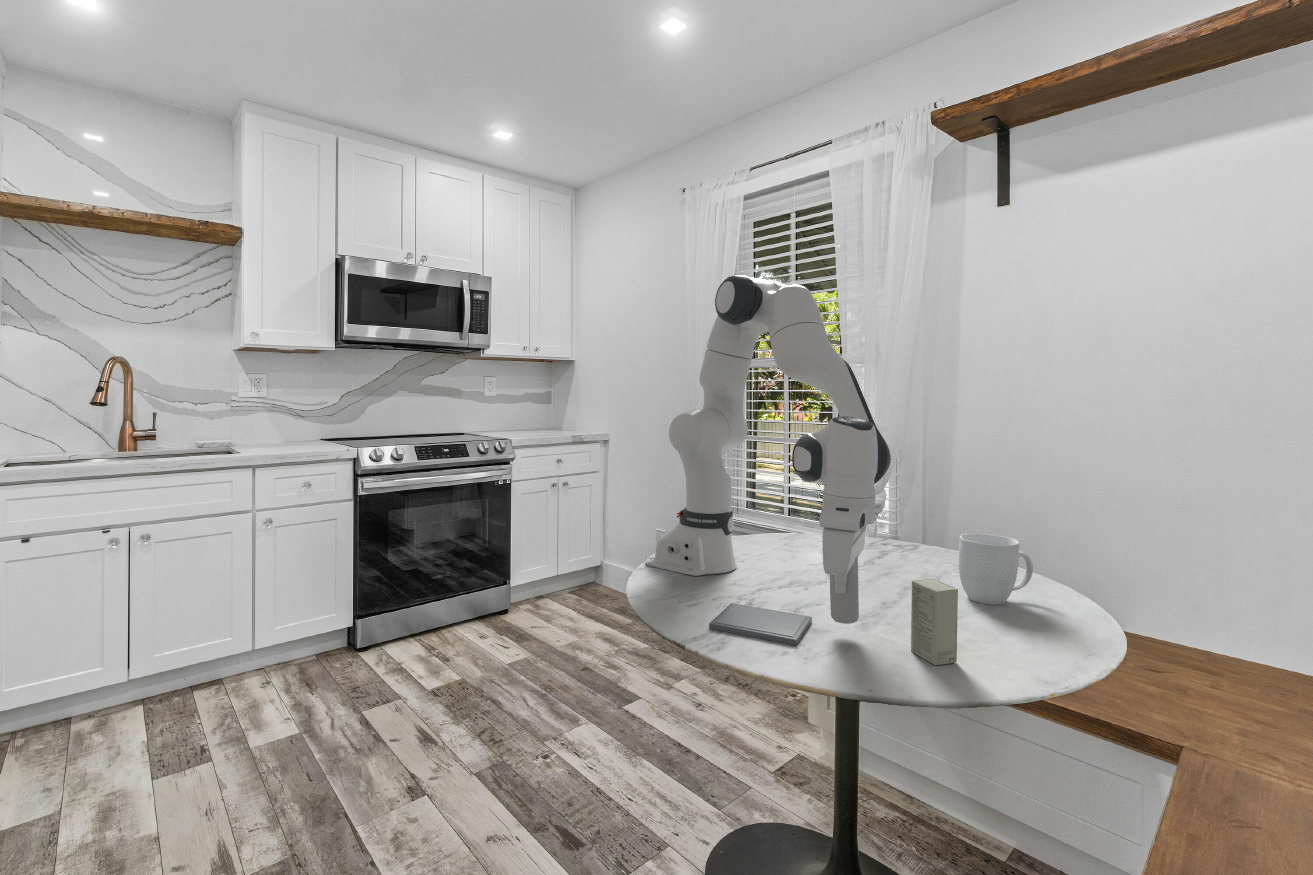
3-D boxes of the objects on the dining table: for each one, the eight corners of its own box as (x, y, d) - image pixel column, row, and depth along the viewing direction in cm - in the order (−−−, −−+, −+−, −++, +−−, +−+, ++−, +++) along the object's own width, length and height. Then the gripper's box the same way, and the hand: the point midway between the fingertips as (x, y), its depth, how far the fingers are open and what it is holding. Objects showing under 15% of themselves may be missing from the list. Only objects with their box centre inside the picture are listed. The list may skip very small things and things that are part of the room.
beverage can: (844, 626, 105) (843, 558, 104) (824, 618, 109) (823, 552, 109) (864, 620, 107) (863, 553, 107) (844, 613, 112) (843, 548, 111)
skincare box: (957, 663, 98) (960, 589, 97) (933, 666, 97) (937, 591, 96) (930, 647, 104) (933, 577, 103) (908, 650, 103) (910, 579, 102)
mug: (1013, 591, 134) (1016, 532, 133) (1047, 609, 123) (1050, 545, 122) (946, 591, 133) (949, 532, 132) (974, 609, 123) (977, 545, 122)
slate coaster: (709, 628, 111) (709, 622, 111) (731, 607, 122) (731, 602, 122) (796, 645, 104) (796, 639, 104) (811, 621, 115) (811, 616, 115)
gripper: (840, 498, 117) (837, 568, 119) (817, 518, 99) (813, 601, 100) (875, 502, 115) (871, 573, 116) (857, 523, 96) (852, 608, 98)
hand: (844, 586), depth 108 cm, fingers closed on beverage can, 5 cm apart
